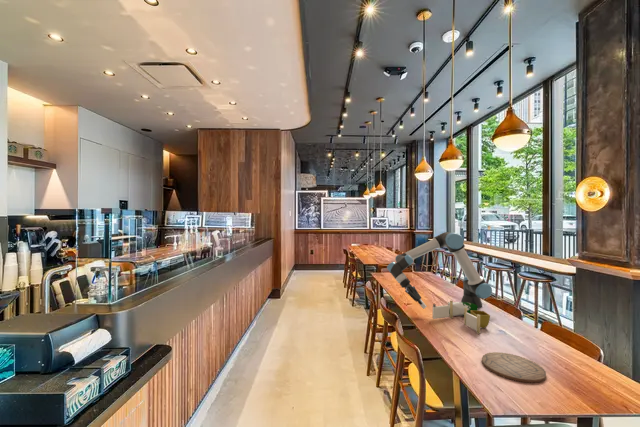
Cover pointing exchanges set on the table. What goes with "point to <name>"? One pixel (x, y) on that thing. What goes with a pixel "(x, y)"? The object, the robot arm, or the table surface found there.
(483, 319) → the flower pot
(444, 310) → the gate
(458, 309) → the milk carton
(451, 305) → the fence
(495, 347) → the table surface
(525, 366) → the trivet
